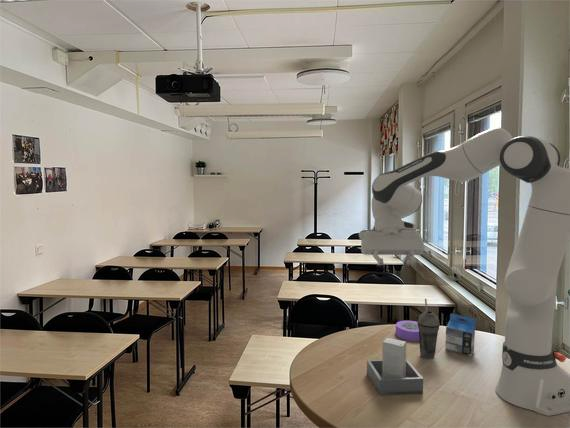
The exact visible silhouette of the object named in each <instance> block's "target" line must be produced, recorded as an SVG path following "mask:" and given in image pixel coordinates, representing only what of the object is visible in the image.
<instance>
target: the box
mask: <svg viewBox="0 0 570 428" xmlns="http://www.w3.org/2000/svg"><path fill="white" fill-rule="evenodd" d="M366 375H367V378H368V379H369V380H370V382H371V383H372V385H373V387H374V388H375V390H376V392H377V394H378V395H379V396H380V397H381V396H401V395H402V396H403V395H422V394H424V379H425V378H424V377H423V376H422V375H421V374H420V373H419V371H418V370H417V369H416V368H415V367H414V365H413V364H412V363H411V362H410V361H409V360H408V358H406V378H388V379H382V359H367V360H366Z"/></svg>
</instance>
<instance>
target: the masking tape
mask: <svg viewBox="0 0 570 428" xmlns="http://www.w3.org/2000/svg"><path fill="white" fill-rule="evenodd" d="M417 322H418V321H414V320H400V321H397V322H396V324H395V335H396V336H397V337H399V338H400V339H403V340H405V341H410V342H411V341H414V342H417V341H419V329H418V323H417Z"/></svg>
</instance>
